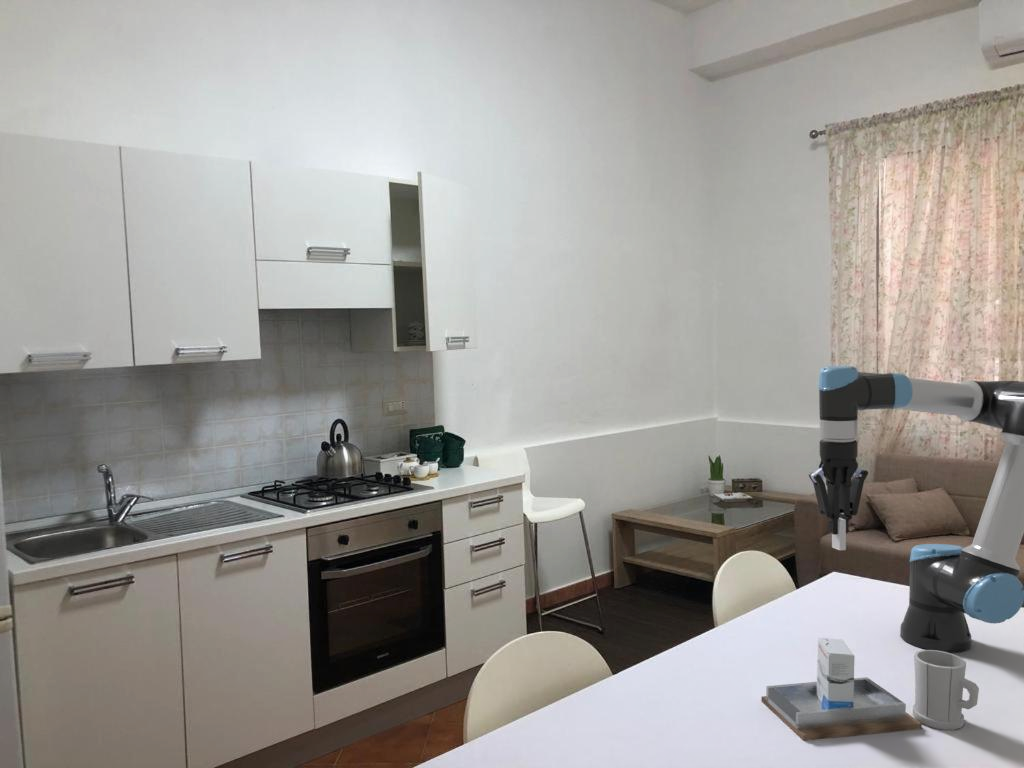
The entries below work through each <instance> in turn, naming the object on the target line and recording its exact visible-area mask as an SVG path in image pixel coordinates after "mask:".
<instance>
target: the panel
mask: <svg viewBox="0 0 1024 768" xmlns="http://www.w3.org/2000/svg"><path fill="white" fill-rule="evenodd" d="M760 700H761V703H762V704H764V705H765V707H766V708H768V709H769V710H770V711H771V712H772V713H773V714H774V715H776V717H778V718H779V719H780V720H781V721H782V722H783V723H784V724H785V725H786V726H787V727H788V728H789V729H790V730H792V731H793V732H794V733H795V734H796V735H797V736H798V737H799V738H800V739H801V740H802V741H804V742H805V741H812V740H822V739H832V738H842V737H850V736H860V735H869V734H870V735H872V734H881V733H883V734H884V733H891V732H901V731H908V730H909V731H912V730H918V729H919V730H921V729H922V726H923V724H922V723H921V722H919V721H918V720H916V719H915V717H914V716H913V715H912V714H909V713H908V712H906V715H905V720H895V721H884V722H874V723H864V724H854V725H844V726H834V727H824V728H814V729H804V730H797V729H796V728H795V727H794V726H793V725H792V724H791V723H790V722H789V721H788V720H786V719H785V718H784V717H783V716H782V715H781V714H780V713H779V712H778V711H777V710H776V709H775V708H773V707H772V706H771V705H770V704H769V703H768V702H767V701H766V695H764V696H761V699H760Z"/></svg>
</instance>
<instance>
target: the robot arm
mask: <svg viewBox="0 0 1024 768" xmlns="http://www.w3.org/2000/svg"><path fill="white" fill-rule="evenodd" d="M818 378H819V379H818V392H819V393H818V395H819V397H818V398H819V399H818V400H819V401H818V402H819V437H820V438H821V439H820V440H819V457H820V463H819V465H818V469H816V470H815V471H814V472H809V474H808V477H809V479H810V481H811V482H812V484H813V487H814V488H813V490H814V492H815V497H816V501H817V505H818V506H817V507H818V509H819V514H820V516H823V517H826V518H828V532H829V534H831V548H833V549H835V550H838V551H847V542H846V541H847V538H846V537H847V534H849V532H850V531H849V529H850V527H849V525H850V524H849V523H850V522H849V521H851V520H852V519H853V516H857V514H858V512H859V508H860V502H861V497H862V493H863V488H864V484H865V481H866V478H867V477H868V476H869V471H868V470H865V469H863V468H861V467H859V463H858V462H857V458H858V457H859V453H858V449H859V447H858V445H859V444H858V441H857V440H856V439H857V438H858V436H859V429H858V428H859V427H858V423H859V422H858V416H859V415H858V413H859V412H858V411H863V410H887V409H889V410H902V411H909V412H910V411H911V412H920V413H929V414H937V415H946V416H956V418H958V419H959V420H961V421H965V422H971V423H972V422H973V423H976V424H977V423H978V424H980V425H985V426H989V427H991V428H996V429H1000V430H1001V433H1000V436H1001V438H1002V439H1003V441H1004V443H1005V445H1004V448H1003V450H1002V454H1001V457H1000V460H999V463H998V466H997V469H996V471H995V475H994V478H993V481H992V483H991V487H990V490H989V493H988V496H987V499H986V501H985V505H984V507H983V510H982V513H981V517H980V519H979V522H978V525H977V528H976V530H975V531H976V532H975V533H974V537H973V540H972V544H970V545H968V546H966V547H963V546H961V545H955V544H945V543H924V544H917V545H914V546H913V547H912V548H911V551H910V556H909V557H910V558H909V561H908V562H909V592H908V593H909V595H908V596H909V599H908V600H909V601H908V607H907V609H906V613H905V615H904V617H903V621H902V622H901V624H900V626H899V627H900V631H899V634H900V635H899V636H900V638H901V639H902V640H903V641H904V642H906V643H907V644H910V645H912V646H915V647H918V648H922V649H924V650H937V651H943V652H947V653H958V652H964V651H967V650H969V649H971V647H972V634H971V631H970V628H969V625H968V622H967V619H966V615H967V616H969V617H970V618H972V619H975V620H979V621H982V622H984V623H988V624H1000V623H1004V622H1006V621H1007V620H1011V619H1012V618H1013V617H1014V616H1015V615H1016V614H1017V613H1018V612H1019V611H1021V608H1022V606H1023V604H1024V586H1023V583H1022V581H1020V580H1019V578H1018V577H1019V574H1020V570H1021V567H1020V566H1019V564H1018V563H1017V560H1016V557H1017V554H1018V552H1019V547H1020V545H1021V542H1022V541H1023V540H1022V539H1023V536H1024V381H1021V380H1020V381H1019V380H996V381H995V380H992V381H990V380H989V381H988V380H987V381H986V380H985V381H984V380H983V381H982V380H981V381H980V380H964V381H963V382H960V383H958V382H956V383H955V382H949V381H939V380H931V379H922V378H914V377H908V376H907V375H906V374H904V373H900V372H899V373H897V372H896V373H895V372H889V373H877V372H876V373H875V372H865V371H864V372H863V371H858V368H857V367H855V366H853V365H851V366H850V365H838V366H837V365H830V366H824V367H821V369H820V372H819V377H818ZM824 480H825V481H824ZM826 487H827V488H826ZM965 614H966V615H965Z"/></svg>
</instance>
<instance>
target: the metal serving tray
mask: <svg viewBox="0 0 1024 768" xmlns="http://www.w3.org/2000/svg"><path fill="white" fill-rule="evenodd" d="M765 696H766V701H767V702H768V703H769V704H770V705H771V706H772V707H773V708H775V709H776V710H777V711H778V712H779V713H780V714H781V715H782V716H783V717H784V718H785V719H786V720H788V721H789V722H790V723H791V724H792V725H793V726H794V727H795V728H796V729H797V730H804V729H814V728H824V727H834V726H844V725H854V724H864V723H874V722H884V721H895V720H905V715H906V713H907V708H906V707H907V705H906V704H907V703H905V702H904V701H902V700H901V699H899V698H898V697H897V696H895V695H893V694H892V693H891V692H889V691H888V690H886V689H885V688H884V687H882V686H880V685H879V684H877V683H876V682H875V681H873V680H872V679H870V678H869V677H867V676H866V677H856V678H855V677H854V703H853V707H846V708H836V709H825V708H824V706H823V705H822V703H821V701H820V700H819V698H818V696H817V681H810V682H798V683H787V684H776V685H767V686H766V695H765Z"/></svg>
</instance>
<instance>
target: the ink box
mask: <svg viewBox="0 0 1024 768" xmlns="http://www.w3.org/2000/svg"><path fill="white" fill-rule="evenodd" d="M817 641H818V642H817V667H816V668H817V670H816V682H817V696H818V698H819V700H820V701H821V703H822V705H823V706H824V708H825V709H836V708H846V707H853V703H854V678H855V655H854V653H853V652H852V651H851V649H850V648H849V646H848V645H847V644H846V642H845V641H844V640H843V639H842V638H830V637H827V638H826V637H818V638H817Z"/></svg>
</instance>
